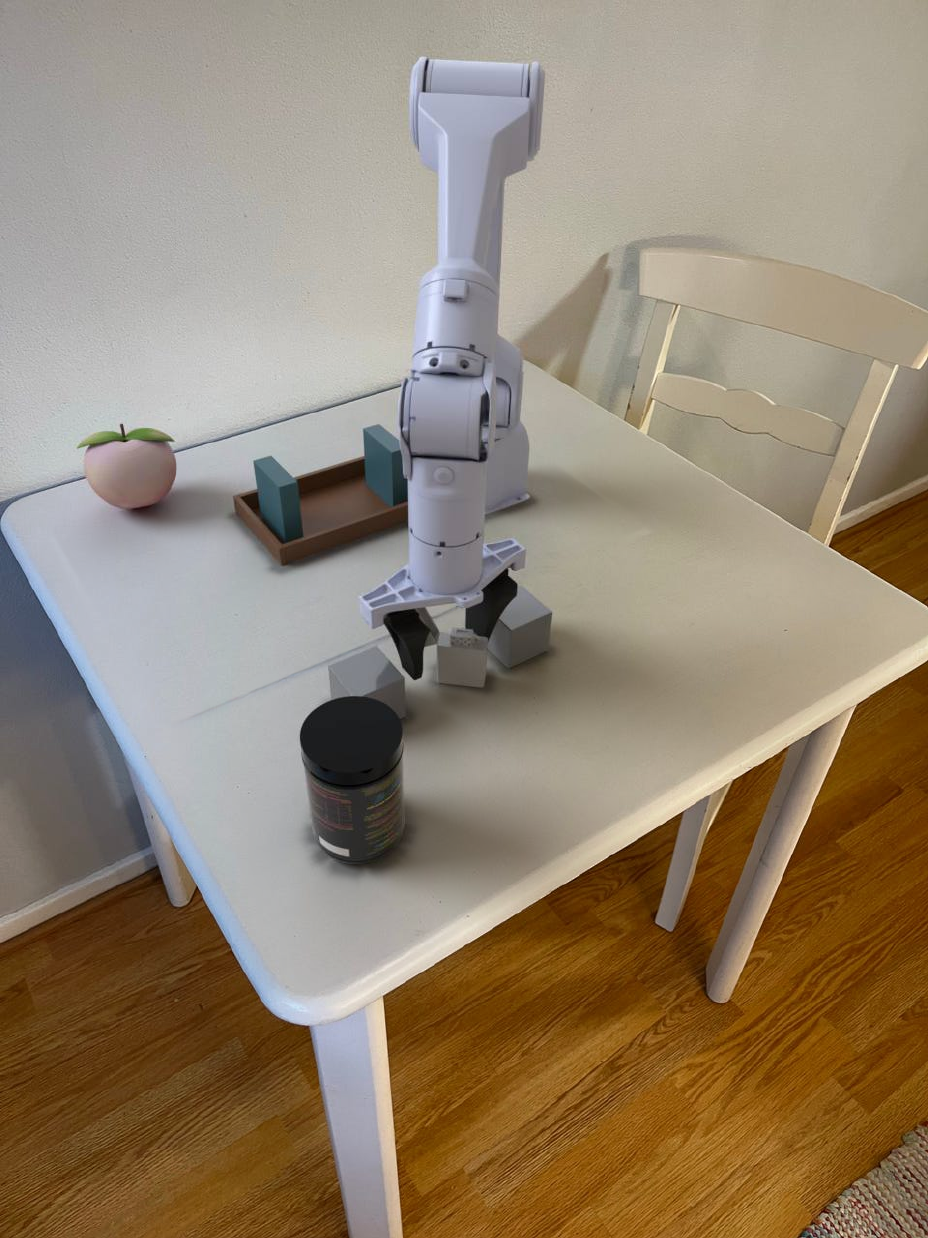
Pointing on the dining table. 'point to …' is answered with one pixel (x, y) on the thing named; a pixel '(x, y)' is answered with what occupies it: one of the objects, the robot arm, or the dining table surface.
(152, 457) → the decorative fruit
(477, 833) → the dining table surface
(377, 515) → the tray
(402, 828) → the supplement container
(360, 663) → the grey cube
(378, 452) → the slab
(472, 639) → the lighter
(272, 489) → the slab
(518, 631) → the grey cube
